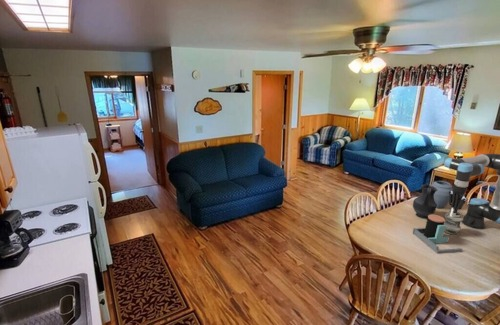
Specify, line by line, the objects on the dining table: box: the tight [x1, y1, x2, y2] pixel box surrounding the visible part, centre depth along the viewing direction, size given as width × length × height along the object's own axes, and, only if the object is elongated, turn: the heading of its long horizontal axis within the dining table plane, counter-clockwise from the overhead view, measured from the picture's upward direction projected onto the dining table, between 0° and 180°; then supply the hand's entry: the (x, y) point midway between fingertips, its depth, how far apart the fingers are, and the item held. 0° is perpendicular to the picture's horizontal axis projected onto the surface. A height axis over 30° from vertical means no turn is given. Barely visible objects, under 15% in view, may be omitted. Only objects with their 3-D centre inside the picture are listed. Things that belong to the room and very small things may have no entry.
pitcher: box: [412, 184, 438, 220], centre depth 234 cm, size 17×21×30 cm
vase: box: [430, 180, 453, 209], centre depth 254 cm, size 20×20×24 cm
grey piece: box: [412, 227, 463, 254], centre depth 203 cm, size 19×25×4 cm
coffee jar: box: [423, 213, 446, 238], centre depth 206 cm, size 11×11×18 cm
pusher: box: [428, 225, 450, 244], centre depth 200 cm, size 16×2×15 cm, turn 96°
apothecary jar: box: [444, 210, 464, 237], centre depth 213 cm, size 12×12×18 cm
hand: (452, 216), depth 189 cm, fingers closed
